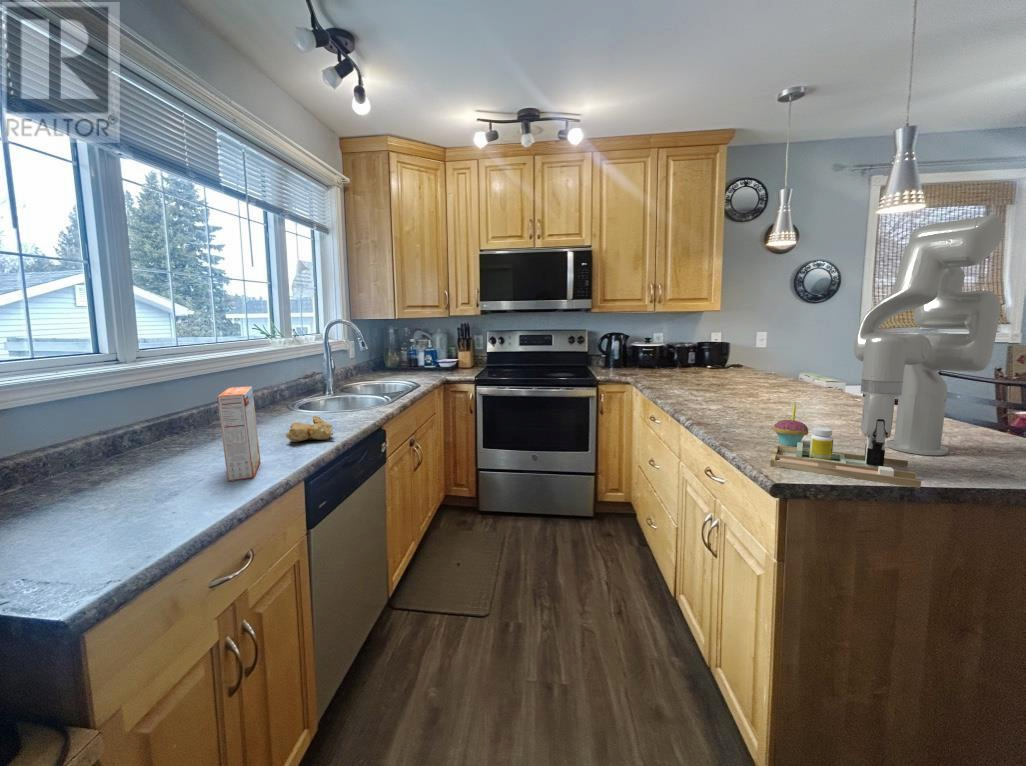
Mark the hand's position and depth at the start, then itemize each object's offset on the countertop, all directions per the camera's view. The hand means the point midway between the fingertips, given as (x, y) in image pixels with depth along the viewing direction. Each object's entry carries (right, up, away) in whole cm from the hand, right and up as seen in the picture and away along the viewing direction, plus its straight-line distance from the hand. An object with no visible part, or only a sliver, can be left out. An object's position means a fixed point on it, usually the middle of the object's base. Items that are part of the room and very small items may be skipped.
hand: (873, 462), depth 107 cm
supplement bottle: (-9, -1, +6) cm, 11 cm away
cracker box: (-155, -3, +5) cm, 155 cm away
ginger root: (-152, +1, +35) cm, 156 cm away
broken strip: (-11, -2, -2) cm, 11 cm away
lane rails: (-7, -1, +2) cm, 8 cm away
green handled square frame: (-6, -1, +4) cm, 7 cm away
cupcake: (-7, +1, +21) cm, 23 cm away
